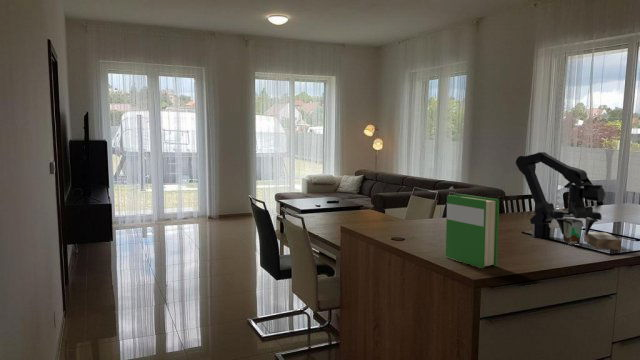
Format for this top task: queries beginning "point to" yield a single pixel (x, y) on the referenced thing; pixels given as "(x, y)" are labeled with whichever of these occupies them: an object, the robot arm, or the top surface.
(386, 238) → the top surface
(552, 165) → the robot arm
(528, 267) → the top surface
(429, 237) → the top surface
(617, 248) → the base board
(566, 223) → the food container
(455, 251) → the hardback book
